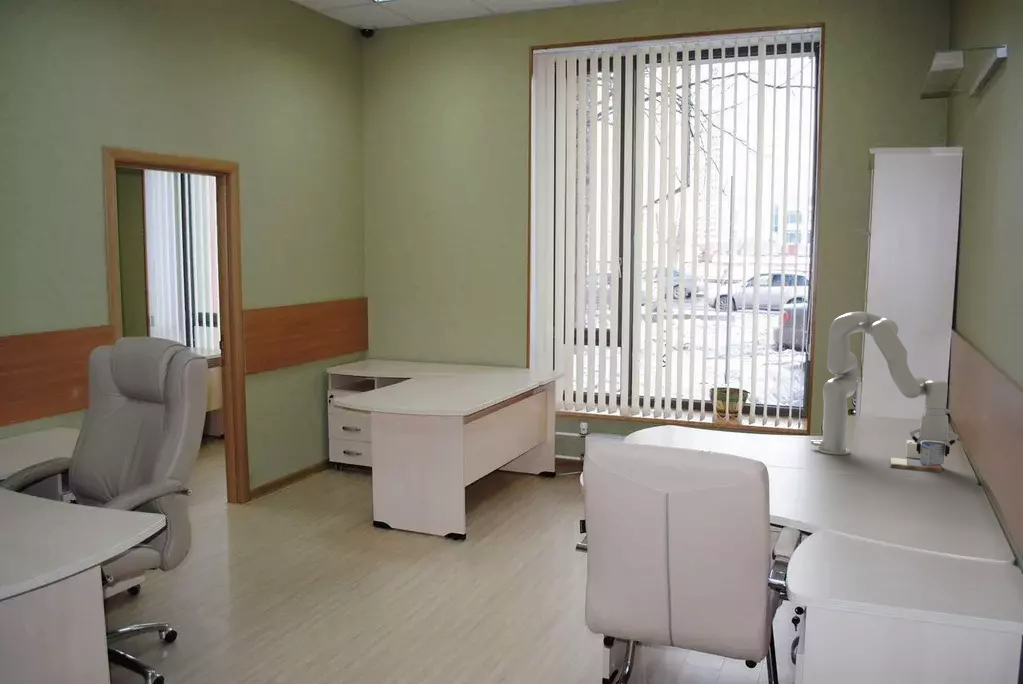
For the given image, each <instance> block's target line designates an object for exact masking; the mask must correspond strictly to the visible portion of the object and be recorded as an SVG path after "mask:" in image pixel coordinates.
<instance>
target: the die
mask: <svg viewBox="0 0 1023 684" xmlns="http://www.w3.org/2000/svg"><path fill="white" fill-rule="evenodd" d="M922 442H924V440H922V441H921V442H920V443H921V444H922ZM905 448H906V450H905V455H906V456H905V458H908V459H910V458H911V459H920V456H921V452H920V454H918V451H916V449H917V443H916V442H915V441H914V440H913V439H912V440H911V439H906V447H905Z"/></svg>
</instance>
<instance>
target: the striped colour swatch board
mask: <svg viewBox="0 0 1023 684" xmlns="http://www.w3.org/2000/svg"><path fill="white" fill-rule="evenodd" d="M941 466H942V464H939V465H929V466H928V465H924V464H922V463H920V459H914V458H911V459H910V458H899V457H890V468H893V469H901V468H903V469H902V470H912V469H913V471H922V470H924V471H923V472H934V473H942V467H941Z"/></svg>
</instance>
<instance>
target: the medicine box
mask: <svg viewBox="0 0 1023 684" xmlns="http://www.w3.org/2000/svg"><path fill="white" fill-rule="evenodd" d="M945 445H946V443H945V442H944V441H933V440H927V441H923V442H922V444H921V456H920V458H919V460H920V463H922V464H924V465H928V466H929V465H939V464H940V465H944V461H945Z"/></svg>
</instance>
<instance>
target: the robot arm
mask: <svg viewBox="0 0 1023 684" xmlns="http://www.w3.org/2000/svg"><path fill="white" fill-rule="evenodd" d="M828 333H829V334H828V345H827V348H828V349H827V361H826V362H827V363H826V367H827V370H828V371H829V372H830V373H831V374H833V375H834V377H833V378H830V379H828V380H827V381H826V382H825V384H824V385H823V388H822V398H823V418H822V419H823V420H822V421H823V422H822V423H823V424H822V438H821V439H820V440H815V439H811V440H810V441H811V442H810V444H811V445H813V446H814V447H815V446H818V448H817V449H818V452H820V453H823V454H826V455H836V456H843V455H848V454H850V452H851V449H850V448H847V437H848V436H847V435H848V415H849V414H848V413H849V411H848V409H849V408H848V401H847V399H848V398H849V397H851V396H853V395H854V394H855V392H856V390H857V385H858V384H857V383H858V373H859V371H858V370H859V362H858V361H859V360H858V357H857V356H856V355H855V353H853V352H852V351H851V337H850V336H851V335H853V334H855V333H864V334H868V335H870V336H871V338H872V341H874V344H876V346H877V347H878V349H879V351H880V352H881V354H882V356H883V358H884V360H885V361H886V364H887V367H888V370H889V373H890V376H891V379H892V380H893V382H894V384H895V386H896V387H897V389H898V391H899V392H900V393H901V394H902V396H904V397H905V398H907V399H917V398H919V397H922V396H925V398H924V399H925V400H924V413H922V414H921V417H920V424H919V427H918V428H915V429H913V430H910V431H909V434H910V437H911V439H912V440H913V441H915V442H916V443H917V449H916V451H918V454H920V452H921V443H920V442H921V441H939V442H943V443H945V453H944V457H948V455H950V450H951V449H950V447H951V446H953V445H954V444H955V443H956V441H957V440H958V439H959V435H958V434H957V433H954V432H953V431H952V430H949V426H950V425H949V416H948V414H951V409H948V408H947V402H948V400H947V399H948V388H949V387H948V382H946V381H945V380H941V379H929V378H925V377H922V376H921V377H919V376H916V377H914V375H913V373H912V372H911V370H910V368H909V364H908V351H907V349H906V347H905V346H904V344H903V342H902V341H901V339H900V338H899V336H898V333H899V327H898V325H897V323H896V322H895V321H894V320H892V319H890V318H886V317H883V316H880V315H876V314H873V313H870V312H867V311H853V312H852V311H851V312H847V313H845V314H842V315H840V316H838V317H837V318H835V319H834V320H833V322H831V324H830V326H829V332H828ZM917 433H918V434H919V437H916V436H915V434H917ZM949 436H951V437H953V438H952V439H951V440H950V441H949Z"/></svg>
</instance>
